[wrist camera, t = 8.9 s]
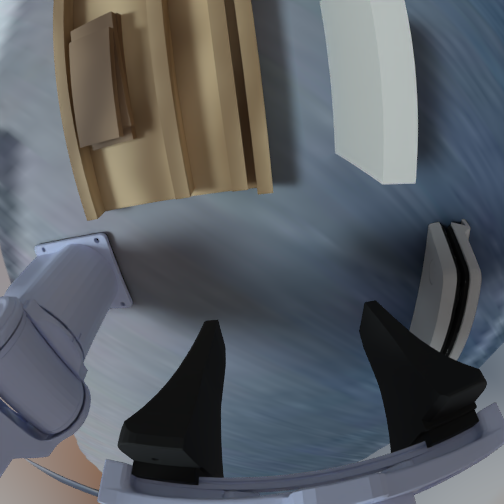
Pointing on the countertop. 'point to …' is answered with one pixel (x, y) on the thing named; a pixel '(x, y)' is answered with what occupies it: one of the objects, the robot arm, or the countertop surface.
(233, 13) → the rack
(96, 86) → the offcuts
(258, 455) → the countertop surface
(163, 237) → the countertop surface
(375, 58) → the white rectangular block
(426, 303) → the grey curved slab
